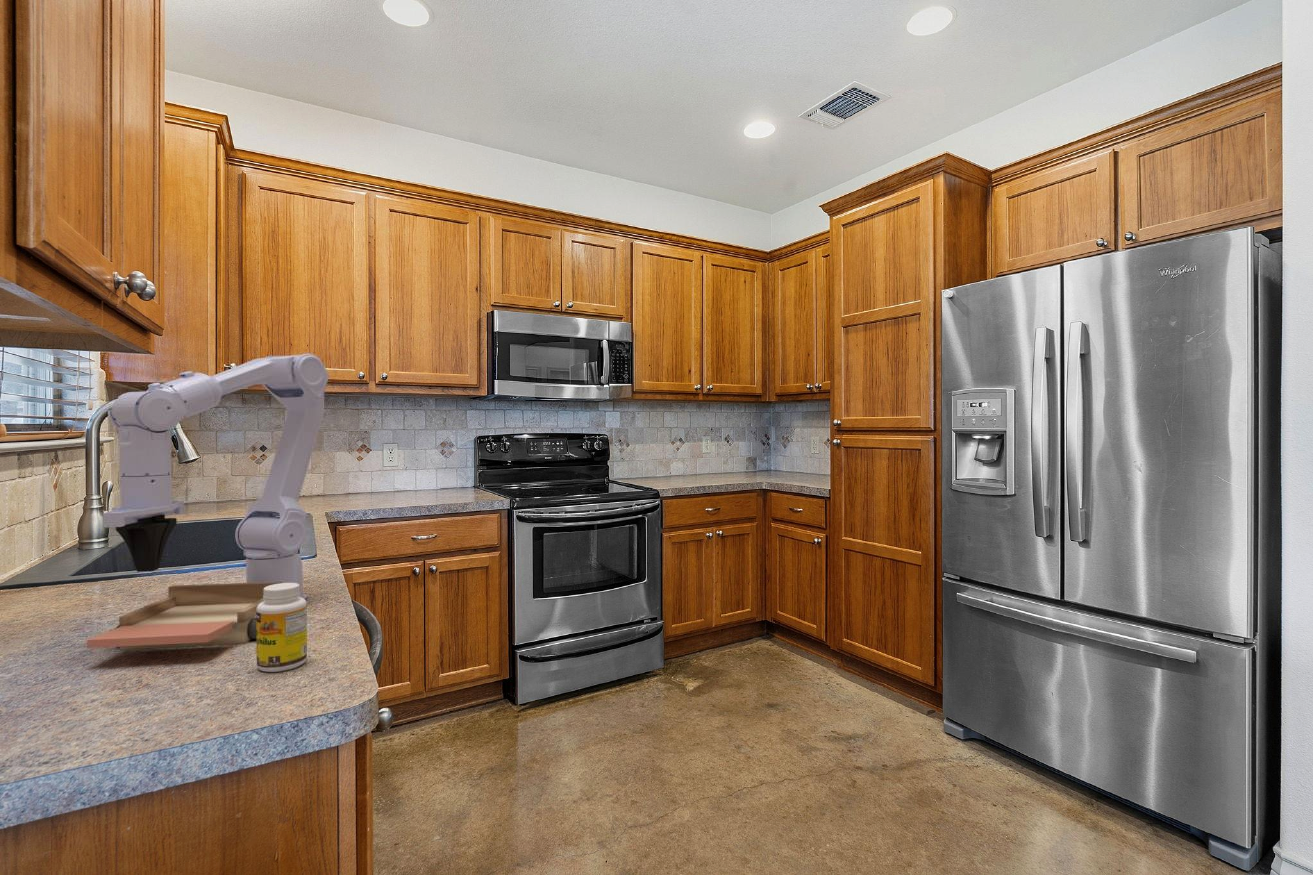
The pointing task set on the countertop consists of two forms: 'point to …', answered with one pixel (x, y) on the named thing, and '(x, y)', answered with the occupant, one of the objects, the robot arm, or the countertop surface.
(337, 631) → the countertop surface
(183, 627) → the panel
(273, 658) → the supplement bottle
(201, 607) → the truck bed
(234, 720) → the countertop surface
